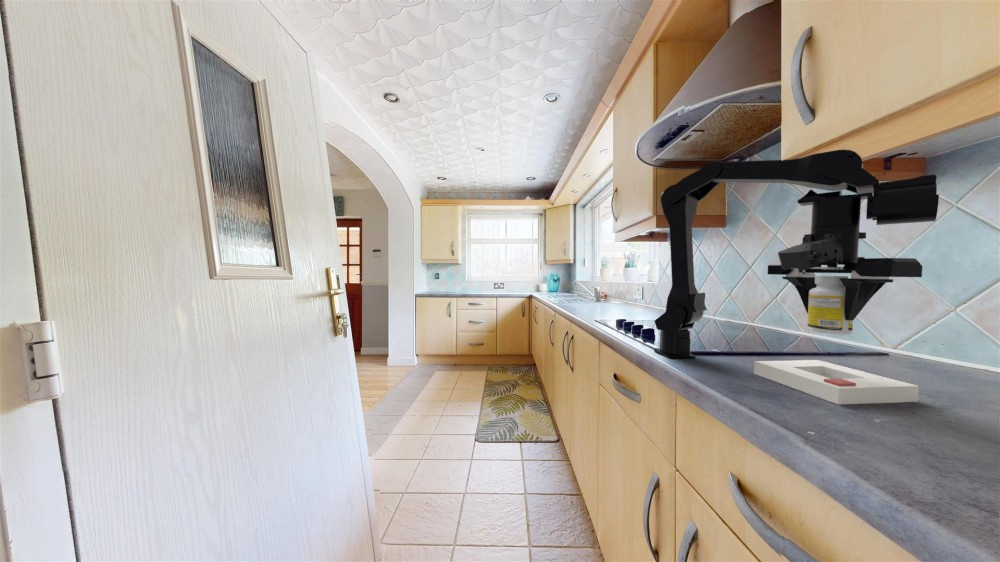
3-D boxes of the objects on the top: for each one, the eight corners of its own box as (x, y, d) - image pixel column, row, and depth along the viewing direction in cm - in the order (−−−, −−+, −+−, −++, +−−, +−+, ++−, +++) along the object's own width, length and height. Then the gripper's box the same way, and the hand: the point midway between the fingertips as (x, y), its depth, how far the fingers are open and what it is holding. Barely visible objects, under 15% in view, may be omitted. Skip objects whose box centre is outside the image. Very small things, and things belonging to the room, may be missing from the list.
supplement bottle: (830, 329, 57) (833, 276, 57) (862, 335, 52) (865, 276, 51) (798, 328, 57) (801, 275, 57) (826, 334, 52) (829, 276, 52)
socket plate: (754, 373, 61) (754, 359, 61) (817, 372, 62) (818, 358, 62) (838, 404, 47) (839, 385, 47) (917, 401, 49) (919, 383, 48)
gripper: (744, 232, 62) (740, 310, 63) (860, 217, 44) (853, 328, 44) (794, 234, 63) (790, 310, 64) (928, 220, 45) (921, 327, 45)
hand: (829, 317), depth 54 cm, fingers closed on supplement bottle, 5 cm apart
